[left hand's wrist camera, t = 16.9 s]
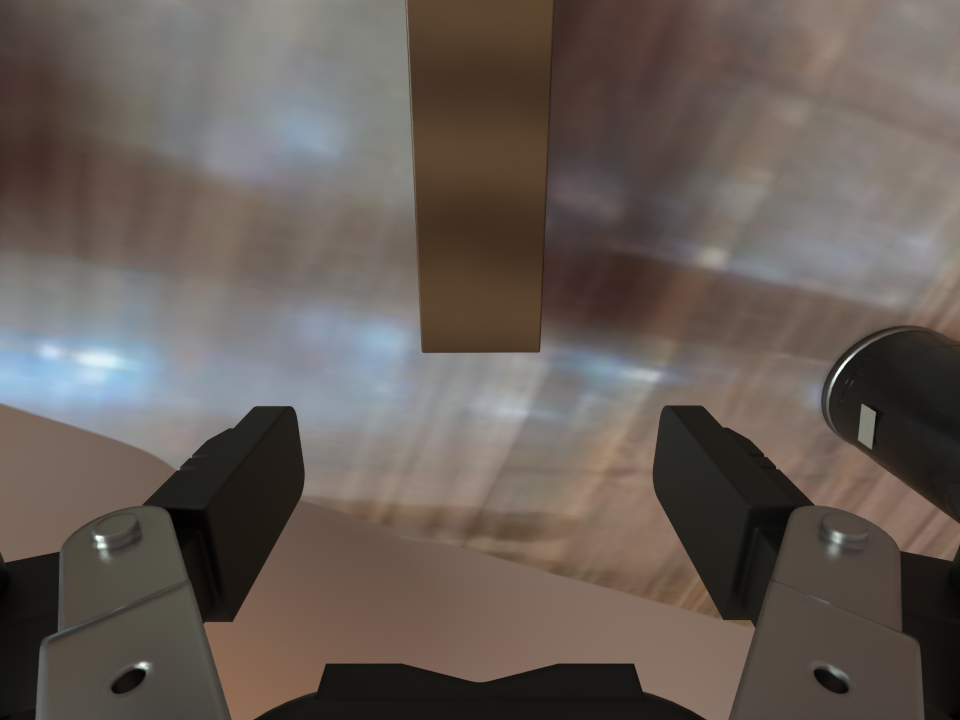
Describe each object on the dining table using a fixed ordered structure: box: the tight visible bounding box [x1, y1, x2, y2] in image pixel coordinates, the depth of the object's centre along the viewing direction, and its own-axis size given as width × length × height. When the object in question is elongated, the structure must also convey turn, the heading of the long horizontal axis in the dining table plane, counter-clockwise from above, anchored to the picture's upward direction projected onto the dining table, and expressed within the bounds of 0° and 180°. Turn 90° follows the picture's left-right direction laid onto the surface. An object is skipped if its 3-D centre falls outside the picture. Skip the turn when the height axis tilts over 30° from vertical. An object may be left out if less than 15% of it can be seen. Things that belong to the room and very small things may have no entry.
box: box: [405, 0, 554, 353], centre depth 26 cm, size 22×6×10 cm, turn 0°
